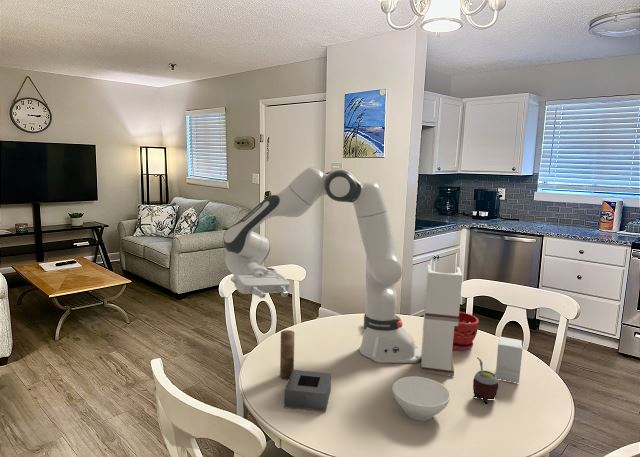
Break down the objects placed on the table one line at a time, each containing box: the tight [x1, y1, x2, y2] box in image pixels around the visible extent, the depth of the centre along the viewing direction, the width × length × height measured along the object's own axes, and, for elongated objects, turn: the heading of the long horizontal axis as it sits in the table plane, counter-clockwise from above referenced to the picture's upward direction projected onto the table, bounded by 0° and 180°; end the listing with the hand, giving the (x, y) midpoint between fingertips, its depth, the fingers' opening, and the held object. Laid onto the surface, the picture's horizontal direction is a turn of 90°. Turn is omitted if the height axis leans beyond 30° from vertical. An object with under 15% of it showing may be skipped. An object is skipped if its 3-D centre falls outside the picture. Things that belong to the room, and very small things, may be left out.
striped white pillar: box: [420, 264, 463, 377], centre depth 149 cm, size 11×11×35 cm
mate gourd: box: [472, 356, 499, 405], centre depth 130 cm, size 8×8×15 cm
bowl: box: [391, 376, 451, 422], centre depth 123 cm, size 16×16×7 cm
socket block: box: [283, 369, 332, 413], centre depth 128 cm, size 12×12×6 cm
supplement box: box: [495, 336, 523, 384], centre depth 144 cm, size 7×7×13 cm
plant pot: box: [452, 311, 480, 351], centre depth 169 cm, size 13×13×12 cm
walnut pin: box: [279, 329, 295, 381], centre depth 140 cm, size 4×4×15 cm
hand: (274, 295), depth 145 cm, fingers open, 8 cm apart
